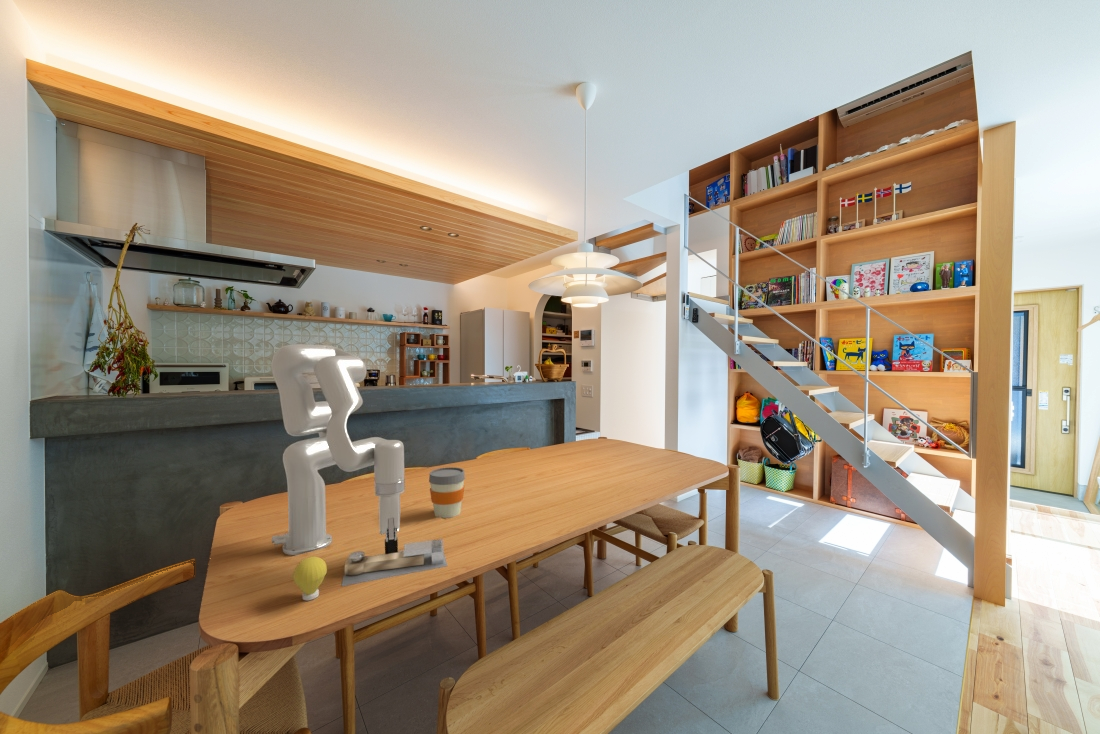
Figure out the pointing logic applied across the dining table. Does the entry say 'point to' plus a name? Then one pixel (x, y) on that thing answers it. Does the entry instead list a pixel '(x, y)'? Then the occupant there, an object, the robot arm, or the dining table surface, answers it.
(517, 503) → the dining table surface
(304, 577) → the light bulb
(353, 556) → the pin cap
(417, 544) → the block
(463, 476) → the reusable coffee cup
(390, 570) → the base board
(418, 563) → the arm link
